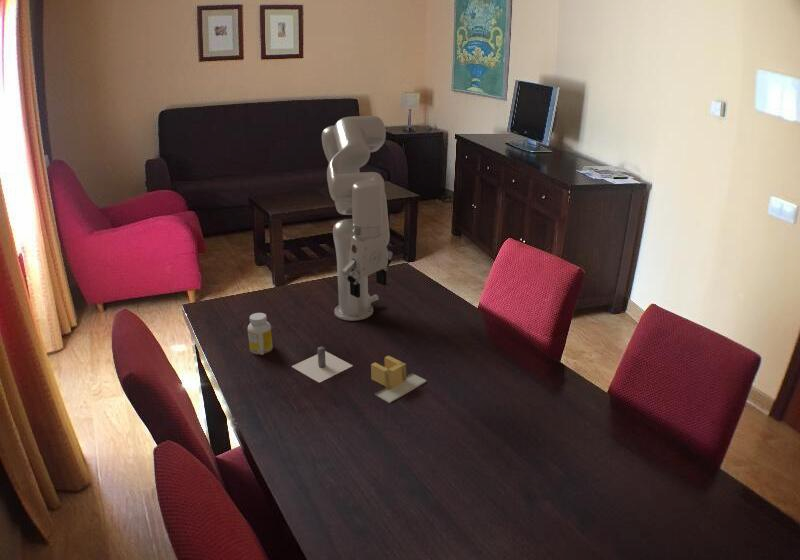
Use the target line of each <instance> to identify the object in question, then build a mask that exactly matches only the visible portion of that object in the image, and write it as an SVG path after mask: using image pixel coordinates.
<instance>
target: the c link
mask: <svg viewBox="0 0 800 560" xmlns="http://www.w3.org/2000/svg"><path fill="white" fill-rule="evenodd" d="M406 375H407V363H404V362H402V361H401V360H398V359H396V358H394V357H393V356H390V355H387V356H385V357H384V365H381V364H379V363H377V362H373V363H371V364H370V376H371V377H370V379H371V380H372V381H374V382H376V383H378V384H380V385H381V386H384V388H386V389H388V390H390V389H392V388H393V387H395V386H397V385H399V384H400V383H402V382H404V381H406Z"/></svg>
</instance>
